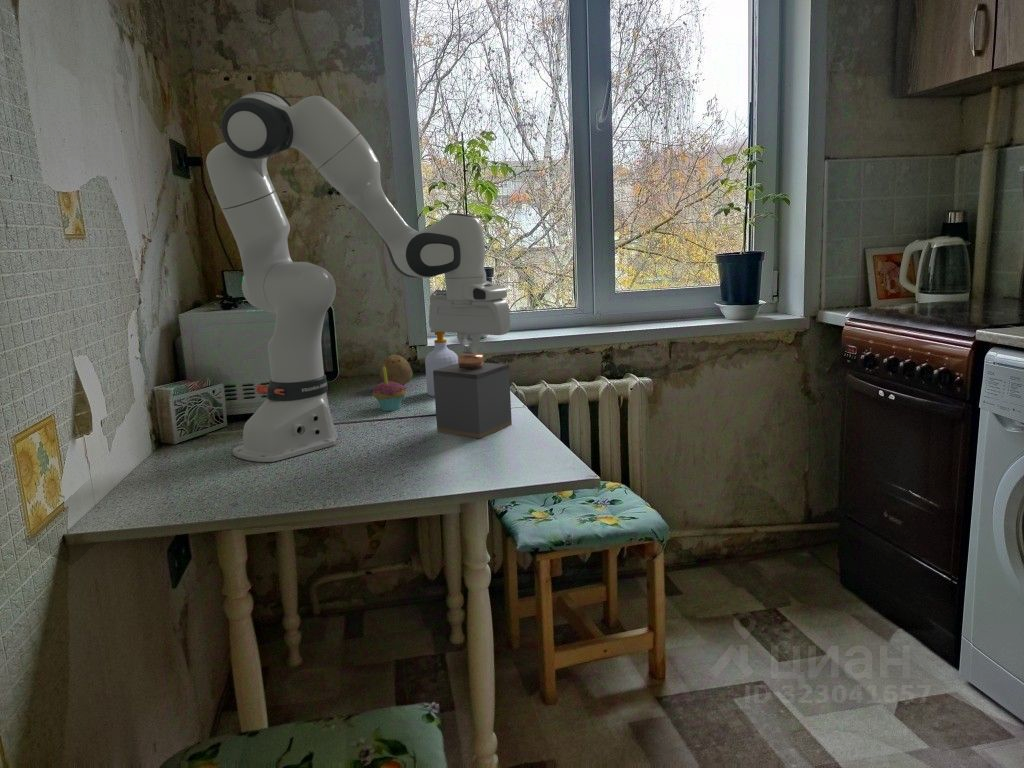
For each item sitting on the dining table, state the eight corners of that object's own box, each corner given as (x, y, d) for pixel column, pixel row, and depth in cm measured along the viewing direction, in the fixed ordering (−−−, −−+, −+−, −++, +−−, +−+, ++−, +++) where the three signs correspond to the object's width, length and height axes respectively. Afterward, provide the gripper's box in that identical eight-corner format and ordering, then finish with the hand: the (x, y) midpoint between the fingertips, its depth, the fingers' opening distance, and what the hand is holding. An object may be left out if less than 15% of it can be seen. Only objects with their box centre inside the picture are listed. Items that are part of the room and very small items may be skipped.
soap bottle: (422, 396, 192) (415, 306, 187) (435, 389, 200) (429, 302, 195) (453, 397, 189) (447, 306, 184) (465, 390, 198) (459, 302, 192)
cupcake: (401, 413, 176) (397, 365, 173) (368, 413, 177) (364, 366, 175) (411, 404, 184) (407, 359, 182) (380, 404, 186) (376, 359, 183)
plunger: (478, 429, 152) (474, 360, 149) (444, 423, 158) (439, 357, 155) (504, 418, 160) (500, 352, 157) (470, 413, 166) (466, 350, 162)
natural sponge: (374, 390, 203) (370, 356, 201) (396, 384, 210) (393, 350, 207) (396, 393, 197) (393, 358, 195) (418, 387, 204) (415, 353, 202)
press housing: (480, 438, 151) (476, 374, 148) (437, 431, 158) (432, 370, 155) (511, 424, 161) (508, 364, 158) (470, 418, 168) (466, 360, 164)
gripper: (420, 291, 156) (424, 352, 159) (495, 292, 145) (498, 358, 148) (439, 288, 161) (442, 348, 164) (513, 289, 150) (515, 353, 153)
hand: (469, 353), depth 156 cm, fingers closed
